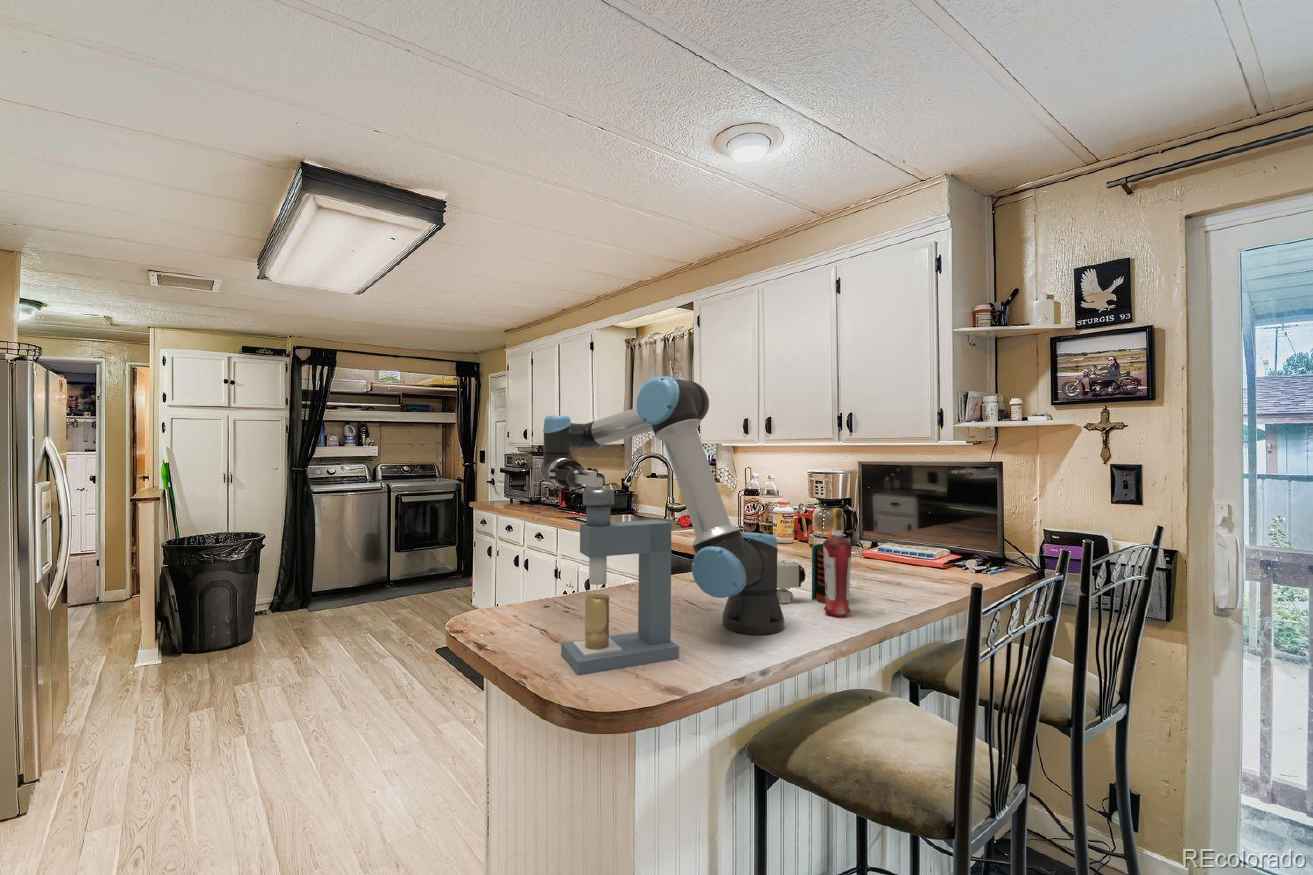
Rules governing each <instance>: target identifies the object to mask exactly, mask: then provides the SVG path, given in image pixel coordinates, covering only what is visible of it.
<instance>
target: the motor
mask: <svg viewBox="0 0 1313 875" xmlns="http://www.w3.org/2000/svg"><path fill="white" fill-rule="evenodd" d="M827 532H828V533H827V539H829V538H831V537H832V529H831V530H830V529H829V530H828V531H827ZM811 601H816V602H818V603H820V604H823V605H825V573H824V553H823V543H817V544H813V545H812V546H811Z"/></svg>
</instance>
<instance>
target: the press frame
mask: <svg viewBox="0 0 1313 875" xmlns="http://www.w3.org/2000/svg"><path fill="white" fill-rule="evenodd" d="M585 506H586V508H585V509H586V510H585V511H586V512H585V514H586V515H585V516H586V517H585V518H586V519H585V522H586V523H580V524H579V553H580V554H582V555H583V556H586V557H587V558H588V560H589V561H588V563H589V564H588V565H589V567H588V568H589V569H588V575H589V576H588V583H589V585H594V586H598V585H605V584H607V581H608V580H607V578H608V577H607V576H608V575H607V568H608V566H607V565H608V564H607V560H608V559H607V557H611V556H612V557H613V556H624V555H638V604H637V605H638V612H637V613H638V614H637V616H638V617H637V620H638V622H637V624H638V625H637V627H638V628H637V630H638V631H635V632H628V633H620V634H614V635H609V646H608V647H607V648H604V649H598V650H594V649H588V648H586V647H585V638H583V639H579V640H571V641H565V642H561V644H560V646H561V647H560V649H561V650H560V655H561V656H562V658H563V659H564V660H565V661H566V663H568V665H569V666H570V667H571V669H572V670H573V671H574V672H575V674H576V675H578V676H581V675H586V674H591V673H598V672H604V671H610V670H617V669H623V668H627V667H629V668H630V667H635V666H639V665H646V664H653V663H658V662H666V661H670V660H676V659H680V646H679V645H678V644H676V643H675V642H674V641H673V640H672V638H671V635H672V633H671V632H672V631H671V630H672V629H671V628H672V625H671V624H672V623H671V622H672V621H671V619H672V616H671V615H672V614H671V613H672V522H669V521H665V520H663V519H646V520H628V521H611V505H608V506H588V505H585Z"/></svg>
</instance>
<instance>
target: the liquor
mask: <svg viewBox="0 0 1313 875" xmlns="http://www.w3.org/2000/svg"><path fill="white" fill-rule="evenodd" d="M843 511H844V509H843V508H832V511H831V516H832V528H831V531H832V537H831V538H829V539H828V538H827V539H826V540H824V541H823V542H822V544H823V553H824V573H825V604H824V607H823V610H824V611H825V612H826V613H827V614H828V616H831V617H834V618H844V617H846V616H848V614H850V613H851V610H852V609H851V608H850V588H851V587H850V586H851V585H850V583H851V569H852V553H853V552H852V546H853V543H852V542H850V540H848V539H846V538H844V531H843V516H844V514H843V513H844V512H843Z"/></svg>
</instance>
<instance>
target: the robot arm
mask: <svg viewBox="0 0 1313 875" xmlns="http://www.w3.org/2000/svg"><path fill="white" fill-rule="evenodd" d="M709 407H710V399H709V395H708V393H707V391H706V390H705V388H704V387H703V386H701V385H700V384H699V383H697V382H695V381H692V380H687V379H686V380H685V379H680V378H673V377H671V376H666V375H665V376H655V377H652V378H649V379H647V381H645V382H644V384H642V385H641V387H640V389H639V393H638V394H637V397H636V407H635V408H632V409H628V410H626V411H622V412H620V413H619V412H618V413H616V414H613V415H610V416H607V417H603V418H600V419H597V420H594V421H591V422H587V423H576V422H575V423H573V422H572V421H571V420H572V419H571V417H570V416H568V415H567V416H566V415H547V416H545V418H544V422H543V430H542V432H543V456H542V458H543V459H542V462H541V465H540V467H539V472H540V475H541V477H542V479H543V480H545V482H547V483H549V484H551V485H558V486H560V488H563V489H564V488H572V487H571V486H570V485H569V484H568V482H567V474H568V473H569V472H570V471H571V470H573V469H580V470H581V471H583V472H584V474H585V475H586V476H592V477H598V478H599V470H598V469H597V468H592V467H587V468H586V469H585V468H584V467H583V466H582V464H581V463H580V462H579V461H578V460H576V459H573V458H571V450H572V449H573V450H575V449H576V450H577V449H578V450H596V449H601V448H602V447H604V446H605V445H606V444H610V443H614V442H617V441H618V442H619V441H621V440H625V439H628V438H632V437H637V436H639V435H643V434H646V433H649V432H653V434H654V438H656V439H657V440H659V441H661V442H663V443H664V447H665V450H666V454H667V456H668V459H669V461H670V464H671V467H672V470H673V473H674V475H675V479H676V482H677V484H678V487H679V490H680V493H681V496H682V499H683V502H684V505H685V508H686V510H687V513H688V517H689V520H690V521H691V525H692V528H693V531H694V534H695V538H694V540H693V541H692V542H693V543H692V547H693V548H692V549H693V551H694V554H695V555H694V556H693V561H692V563H691V573H692V576H693V579H694V582H695V583H696V585H697V586H698V588H699V589H700V590H701V591H702V592H704V593H705V594H707V595H709V596H711V597H713V598H716V599H717V598H718V599H719V598H720V599H723V598H727V599H726V603H725V606H724V609H723V612H722V617H721V618H722V619H721V620H722V623H721V624H722V626H723V627H724V628H725V629H726V630H729V631H732V632H736V633H740V634H745V635H772V634H777V633H779V632H781V631H783V630H784V628H785V617H784V614H783V610H782V608H781V604H779V601H778V597H777V589H778V588H777V563H778V552H779V548H778V541H777V540H778V539H777V537H776V536H775V535H773V534H769V533H759V532H749V531H741V529H740V528H739V527H738V526H735V525H733V524H732V523H731V521H730V518H729V516H728V512H727V511H726V508H725V504H724V501H723V499H722V496H721V493H720V490H719V488H718V485H717V482H716V479H715V477H714V473H713V471H712V468H711V466H710V462H709V460H708V457H707V454H706V452H705V448H704V446H703V443H702V441H701V437H700V434H699V432H698V430H699V426H700V424H701V422H702V420H704V418H705V417H706V415H707V413H708V412H709Z"/></svg>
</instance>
